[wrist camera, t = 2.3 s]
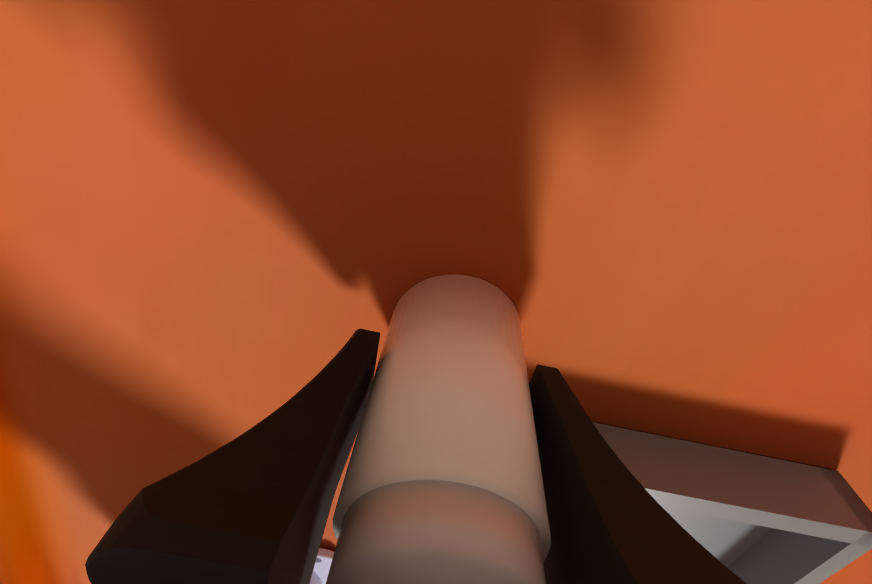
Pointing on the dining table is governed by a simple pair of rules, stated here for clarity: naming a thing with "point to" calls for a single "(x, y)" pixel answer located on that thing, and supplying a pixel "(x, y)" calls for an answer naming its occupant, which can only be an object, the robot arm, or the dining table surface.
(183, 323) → the dining table surface
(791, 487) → the tray
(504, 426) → the shaker
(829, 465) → the dining table surface
